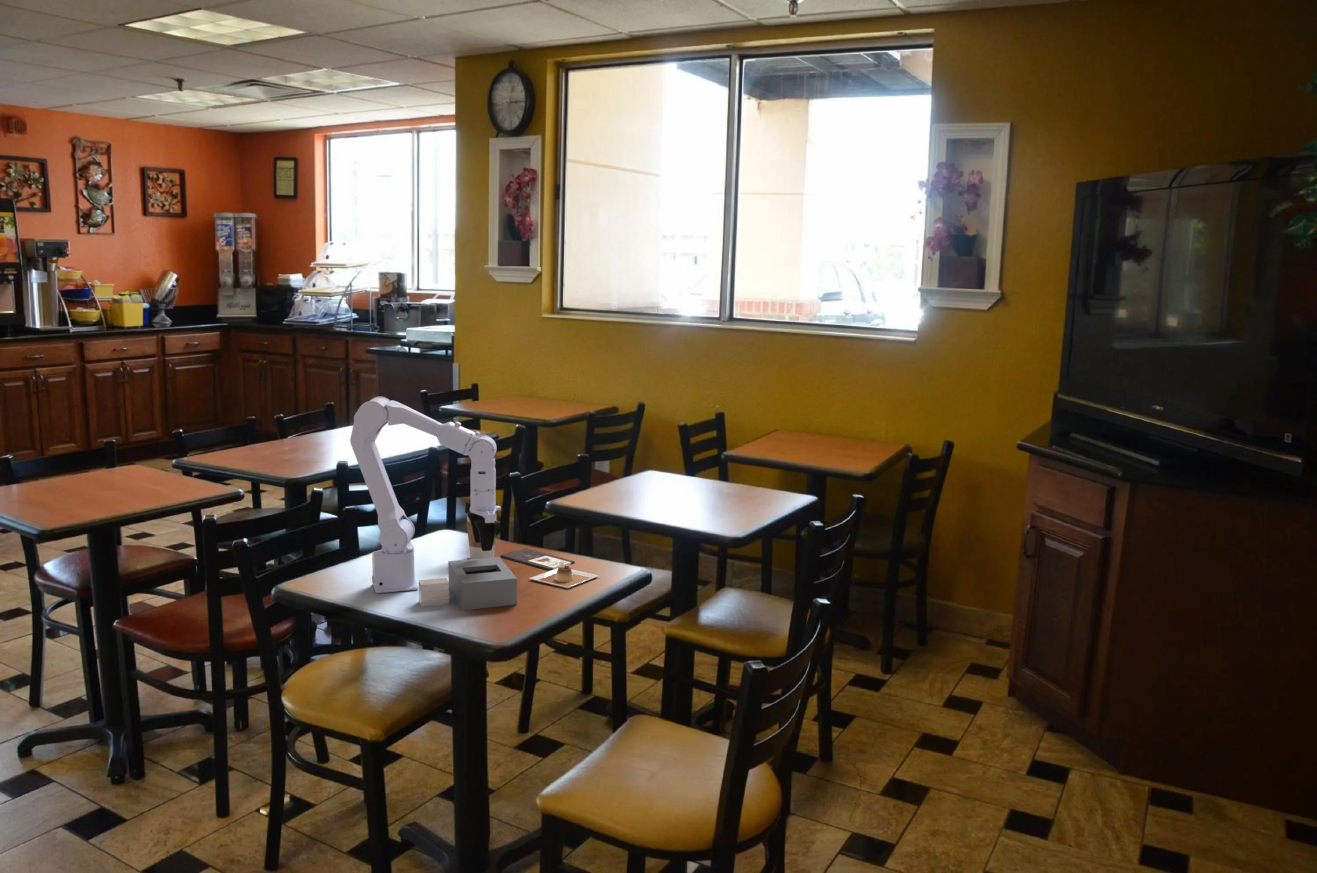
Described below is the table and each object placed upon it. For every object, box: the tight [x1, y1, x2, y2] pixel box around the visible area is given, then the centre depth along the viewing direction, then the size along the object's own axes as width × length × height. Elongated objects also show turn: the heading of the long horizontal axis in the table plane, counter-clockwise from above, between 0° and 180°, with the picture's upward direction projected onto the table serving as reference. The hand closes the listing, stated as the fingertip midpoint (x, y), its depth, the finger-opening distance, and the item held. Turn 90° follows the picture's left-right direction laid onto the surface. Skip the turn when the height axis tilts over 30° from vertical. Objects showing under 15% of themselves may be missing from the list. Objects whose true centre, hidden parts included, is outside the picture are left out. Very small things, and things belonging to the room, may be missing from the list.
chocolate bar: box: [499, 548, 575, 572], centre depth 252 cm, size 9×1×18 cm
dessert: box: [529, 561, 600, 589], centre depth 236 cm, size 12×12×5 cm
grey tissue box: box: [447, 556, 518, 611], centre depth 222 cm, size 12×18×6 cm, turn 21°
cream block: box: [418, 577, 450, 608], centre depth 217 cm, size 6×4×5 cm, turn 111°
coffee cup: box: [464, 499, 499, 559], centre depth 251 cm, size 8×8×15 cm
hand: (483, 546), depth 228 cm, fingers open, 7 cm apart
